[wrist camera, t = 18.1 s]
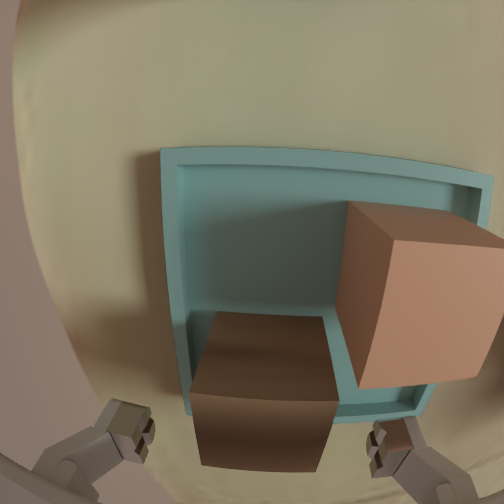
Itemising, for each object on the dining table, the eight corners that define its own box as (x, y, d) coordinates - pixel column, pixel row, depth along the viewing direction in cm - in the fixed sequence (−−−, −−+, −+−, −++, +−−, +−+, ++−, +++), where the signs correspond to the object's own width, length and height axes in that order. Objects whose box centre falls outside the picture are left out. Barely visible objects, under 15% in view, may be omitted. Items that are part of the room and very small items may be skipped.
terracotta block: (447, 210, 11) (522, 250, 6) (426, 307, 12) (476, 376, 8) (347, 200, 11) (393, 239, 6) (334, 306, 13) (358, 389, 8)
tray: (413, 398, 15) (420, 415, 14) (192, 396, 16) (186, 414, 15) (474, 172, 11) (493, 176, 9) (173, 147, 12) (160, 148, 10)
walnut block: (309, 390, 14) (315, 472, 10) (220, 385, 15) (201, 465, 10) (322, 316, 13) (339, 400, 8) (217, 311, 13) (188, 392, 8)
